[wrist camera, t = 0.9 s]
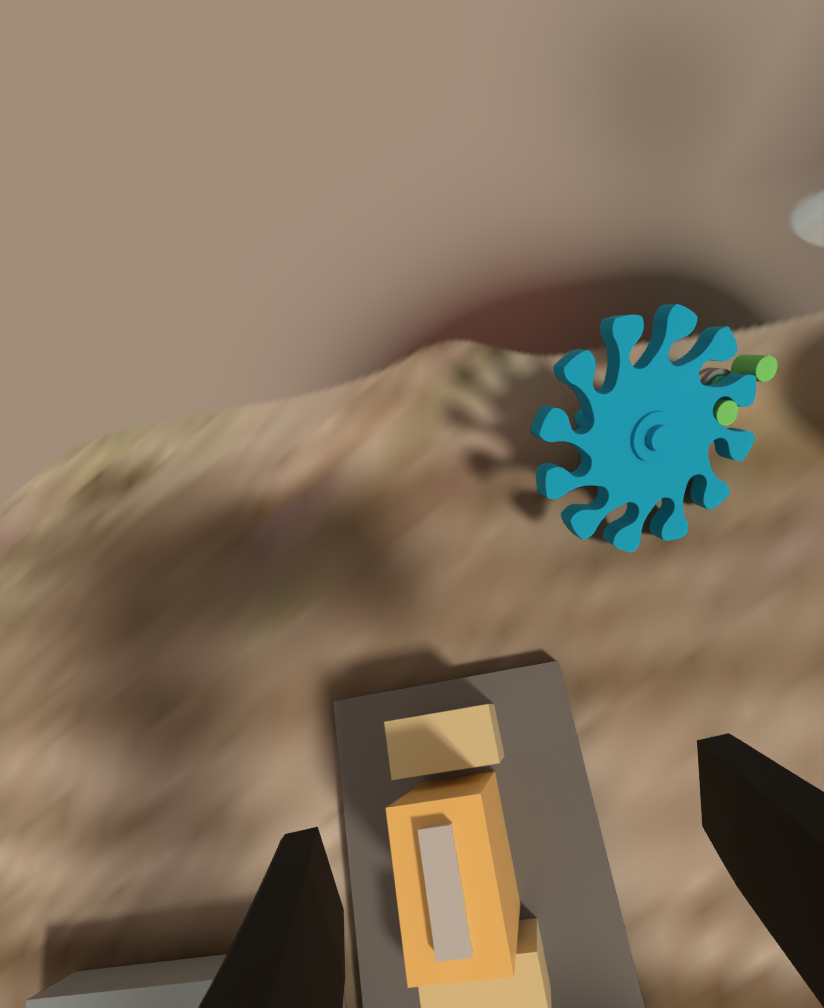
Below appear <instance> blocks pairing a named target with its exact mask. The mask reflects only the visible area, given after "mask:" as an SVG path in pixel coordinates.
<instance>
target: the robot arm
mask: <svg viewBox="0 0 824 1008" xmlns="http://www.w3.org/2000/svg"><path fill="white" fill-rule="evenodd" d="M697 748H698V764H699V780H700V796H701V812H702V826H703V828H704V830H705V832H706V834H707V835H708V837H709V839H710V841H711V842H712V844H713V846H714V848H715V850H716V851H717V853H718V855H719V857H720V858H721V860H722V862H723V864H724V865H725V867H726V869H727V870H728V872H729V874H730V875H731V877H732V879H733V880H734V882H735V884H736V886H737V887H738V888H739V890H740V891H741V893H742V894H743V896H744V897H745V898H746V900H747V901H748V903H749V904H750V906H751V907H752V908H753V910H754V911H755V913H756V914H757V915H758V917H759V918H760V920H761V921H762V922H763V924H764V925H765V927H766V928H767V929H768V931H769V932H770V934H771V935H772V936H773V938H774V939H775V941H776V942H777V943H778V945H779V946H780V948H781V949H782V950H783V952H784V953H785V955H786V956H787V957H788V959H789V960H790V961H791V963H792V964H793V966H794V967H795V968H796V970H797V971H798V973H799V974H800V975H801V977H802V978H803V980H804V981H805V982H806V984H807V985H808V986H809V988H810V989H811V991H812V992H813V993H814V995H815V996H816V998H817V999H818V1000H819V1002H820V1003H821V1005H822V1006H823V1007H824V792H823V791H821V790H820V789H818V788H816V787H815V786H813V785H812V784H810V783H808V782H807V781H805V780H803V779H802V778H800V777H799V776H797V775H795V774H794V773H792V772H790V771H789V770H787V769H786V768H784V767H782V766H781V765H779V764H778V763H776V762H774V761H773V760H771V759H770V758H768V757H766V756H765V755H763V754H762V753H760V752H758V751H757V750H755V749H754V748H752V747H750V746H749V745H747V744H746V743H744V742H742V741H741V740H739V739H737V738H736V737H734V736H732V735H731V734H729V733H728V734H723V735H719V736H714V737H710V738H706V739H701V740H697ZM344 982H345V951H344V909H343V906H342V903H341V900H340V896H339V893H338V890H337V887H336V884H335V880H334V877H333V874H332V871H331V868H330V865H329V861H328V858H327V855H326V852H325V849H324V845H323V842H322V839H321V836H320V833H319V830H318V827H314V828H310V829H306V830H301V831H297V832H292V833H288V834H285V835H284V836H283V838H282V839H281V841H280V843H279V845H278V848H277V850H276V852H275V854H274V857H273V859H272V861H271V863H270V866H269V868H268V870H267V872H266V874H265V877H264V879H263V881H262V883H261V885H260V887H259V890H258V892H257V894H256V896H255V898H254V900H253V902H252V904H251V906H250V908H249V911H248V913H247V915H246V917H245V919H244V921H243V923H242V925H241V927H240V929H239V931H238V933H237V935H236V937H235V939H234V941H233V943H232V945H231V947H230V949H229V951H228V953H227V955H226V957H225V959H224V961H223V963H222V964H221V966H220V968H219V970H218V972H217V974H216V976H215V978H214V980H213V981H212V983H211V985H210V987H209V989H208V990H207V992H206V994H205V996H204V998H203V999H202V1001H201V1003H200V1005H199V1007H198V1008H343V997H344Z"/></svg>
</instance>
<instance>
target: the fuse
mask: <svg viewBox="0 0 824 1008" xmlns="http://www.w3.org/2000/svg"><path fill="white" fill-rule="evenodd" d="M386 815H387V823H388V831H389V839H390V847H391V855H392V863H393V871H394V880H395V888H396V896H397V904H398V912H399V920H400V928H401V936H402V945H403V953H404V961H405V969H406V977H407V985H408V988H411V987H421V986H431V985H441V984H451V983H461V982H471V981H481V980H491V979H501V978H511V977H514V971H515V960H516V949H517V937H518V926H519V915H520V899H519V893H518V888H517V883H516V878H515V873H514V867H513V862H512V857H511V852H510V847H509V842H508V836H507V831H506V826H505V821H504V816H503V810H502V805H501V800H500V795H499V790H498V784H497V779H496V774H495V771H494V772H487V773H481V774H474V775H468V776H461V777H455V778H448V779H442V780H435V781H429V782H423V783H421V784H420V785H418V786H417V787H415V788H414V789H413V790H411V791H410V792H408V793H407V794H405V795H404V796H402V797H401V798H399V799H398V800H396V801H395V802H393V803H392V804H391V805H389V806H388V807H386Z"/></svg>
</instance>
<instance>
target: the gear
mask: <svg viewBox="0 0 824 1008" xmlns="http://www.w3.org/2000/svg"><path fill="white" fill-rule="evenodd" d="M696 322H697V316H696V315H695V314H694V313H693V312H692V311H691V310H689V309H688V308H686V307H683V306H681V305H678V304H669V305H662V306H661V307H660V308H659V309H658V310H657V312H656V314H655V317H654V324H653V332H652V336H651V339H650V342H649V344H648V346H647V348H646V350H645V352H644V353H643V355H642V356H641V357H640V358H639V360H638V361H637V362H636V363H635V365H633V366H632V365H631V363H630V360H629V355H630V351H631V349H632V347H633V346H634V345H635V343H636V342H637V341H638V339H639V338H640V336H641V334H642V332H643V326H644V323H643V319H642V316H638V315H622V316H621V315H620V316H613V317H609V318H605V319H603V320H602V323H601V328H600V333H601V336H602V339H603V340H604V342H605V346H606V349H607V355H608V365H607V372H606V376H605V381H604V384H603V386H602V387H601V388H600V389H599V390H598V391H595V389H594V387H593V377H594V373H595V367H596V362H595V358H594V356H593V354H592V353H591V352H590V351H588V350H577V349H576V350H573V351H571V352H569V353H568V354H566V355H565V356H564V357H562V358H561V359H560V360H559V361H558V362H557V363H556V364H555V365H554V373H555V376H556V377H557V379H559V380H560V381H561V382H563V383H565V384H567V385H568V386H569V387H570V388H571V389H572V390H573V391H574V392H575V394H576V395H577V397H578V399H579V402H580V404H581V408H580V409H579V410H578V411H577V412H576V414H575V417H574V421H575V424H576V425H577V426H578V427H579V428H578V429H576V430H574V431H573V430H572V428H571V425H570V422H569V418H568V416H567V414H566V413H565V412H564V411H563V410H561V409H559V408H555V407H551V406H547V405H544V406H542V407H541V408H540V409H539V411H538V412H537V414H536V416H535V418H534V421H533V423H532V426H531V429H530V432H531V433H532V435H534V436H535V437H537V438H540V439H542V440H545V441H547V442H557V441H566V442H568V443H570V444H571V445H572V446H574V447H575V448H576V449H577V450H578V451H579V452H580V454H581V463H580V465H579V467H578V468H577V469H576V470H575V471H573V472H568V471H567V470H565V469H564V468H562V467H559V466H557V465H555V464H553V463H543V464H541V465H539V466H538V468H537V473H536V482H537V489H538V492H539V493H540V494H542V495H544V496H545V497H547V498H550V499H558V498H560V497H562V496H563V495H565V494H566V493H567V492H569V491H571V490H573V489H575V488H578V487H581V486H586V485H595V486H597V488H598V493H597V496H596V498H595V500H594V501H593V502H591V503H589V504H572V505H569V506H567V507H566V508H565V509H564V510H563V511H562V513H561V517H562V520H563V522H564V524H565V525H566V527H567V528H568V529H569V530H570V531H571V532H572V533H573V534H574V535H576V536H577V537H579V538H580V539H582V540H583V539H587V538H589V537H590V536H591V535H593V533H594V532H595V530H596V529H597V527H598V525H599V523H600V522H601V521H602V519H603V518H604V517H605V516H606V515H607V514H608V513H610V512H611V511H612V510H614V509H615V508H617V507H619V506H621V505H623V504H625V503H627V511H626V513H625V514H624V515H623V516H622V517H621V518H619V519H617V520H615V521H613V522H611V523H610V524H609V525H607V527H606V528H605V530H604V532H603V537H602V538H603V539H605V540H606V541H607V542H609V543H611V544H612V545H614V546H615V547H617V548H619V549H621V550H624V551H628V552H632V553H633V552H634V551H635V550H636V549H637V547H638V546H639V544H640V540H641V530H642V526H643V523H644V521H645V519H646V517H647V515H648V514H649V512H650V511H651V509H652V508H653V507H654V506H655V504H656V503H657V502H658V501H659V500H660V499H662V505H661V507H660V509H659V510H658V511H657V513H656V514H655V515H654V516H653V518H652V520H651V522H650V532H651V534H653V535H655V536H657V537H659V538H661V539H663V540H674V539H678V538H681V537H684V536H685V535H686V533H687V531H688V522H687V520H686V518H685V516H684V512H683V498H684V493H685V489H686V485H687V483H688V481H689V479H690V478H691V477H693V483H692V487H691V491H690V497H691V500H692V502H693V503H695V504H696V505H699V506H701V507H704V508H706V509H709V510H710V509H712V508H714V507H716V506H717V505H719V504H720V503H721V502H722V501H724V500H725V499H726V498H727V497H728V496H729V492H730V491H729V487H728V485H727V484H726V483H724V482H722V481H721V480H719V479H718V478H717V477H716V476H715V475H714V473H713V471H712V469H711V467H710V463H709V458H708V448H709V446H710V444H711V443H712V441H714V444H715V449H716V452H717V454H718V455H719V456H721V457H725V458H728V459H732V460H736V461H742V460H743V459H744V458H745V457H746V455H747V454H748V452H749V450H750V449H751V447H752V444H753V442H754V440H755V436H754V434H753V433H752V432H750V431H746V430H741V429H736V428H724V427H723V426H722V425H724V426H725V425H729V424H731V423H732V422H733V421H734V420H735V419H736V417H737V415H738V406H740V407H747V406H749V405H751V404H753V401H754V398H755V393H756V381H760V382H766V381H769V380H771V379H772V378H773V377H774V375H775V373H776V371H777V361H776V359H775V358H774V357H772V356H763V355H740V356H738V357H737V358H736V359H735V360H734V361H733V363H732V366H731V372H730V371H729V370H727V369H722V368H706V369H703V370H701V371H700V369H701V367H702V365H703V364H704V363H705V362H707V361H709V360H712V361H727V360H729V359H731V358H732V357H733V356H734V355H735V354H736V352H737V343H736V340H735V338H734V336H733V333H732V332H731V330H730V329H729V327H710V328H707V329H705V330H704V331H703V332H702V333H701V335H700V336H699V338H698V340H697V342H696V343H695V345H694V346H693V348H692V349H691V350H690V351H689V352H688V353H687V354H686V355H684V356H683V357H682V358H680V359H678V360H677V361H675V362H672V363H671V362H670V360H669V350H670V347H671V346H672V344H673V343H674V342H675V341H677V340H679V339H681V338H683V337H685V336H687V335H689V333H691V332H692V330H693V329H694V327H695V325H696Z"/></svg>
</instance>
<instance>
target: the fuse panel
mask: <svg viewBox="0 0 824 1008" xmlns="http://www.w3.org/2000/svg"><path fill="white" fill-rule="evenodd" d="M333 706H334V716H335V726H336V737H337V747H338V757H339V767H340V777H341V788H342V798H343V808H344V818H345V829H346V839H347V849H348V859H349V870H350V880H351V890H352V900H353V910H354V921H355V931H356V941H357V951H358V962H359V972H360V982H361V992H362V1002H363V1008H645V1007H644V1003H643V999H642V995H641V991H640V987H639V983H638V979H637V975H636V971H635V967H634V963H633V959H632V955H631V951H630V946H629V942H628V938H627V934H626V930H625V926H624V922H623V918H622V914H621V910H620V906H619V902H618V898H617V894H616V890H615V886H614V882H613V878H612V874H611V870H610V866H609V862H608V858H607V854H606V850H605V846H604V842H603V838H602V834H601V830H600V826H599V822H598V818H597V814H596V810H595V806H594V802H593V798H592V794H591V790H590V786H589V782H588V778H587V774H586V770H585V765H584V761H583V757H582V753H581V749H580V745H579V741H578V737H577V733H576V729H575V725H574V721H573V717H572V713H571V709H570V705H569V701H568V697H567V693H566V689H565V685H564V681H563V677H562V673H561V669H560V665H559V661H553V662H548V663H542V664H537V665H531V666H526V667H520V668H514V669H509V670H503V671H498V672H492V673H487V674H481V675H476V676H470V677H464V678H459V679H453V680H448V681H442V682H437V683H431V684H426V685H420V686H414V687H409V688H403V689H398V690H392V691H387V692H381V693H376V694H370V695H364V696H359V697H353V698H348V699H342V700H337V701H333ZM494 771H495V774H496V779H497V784H498V790H499V795H500V800H501V805H502V810H503V816H504V821H505V826H506V831H507V836H508V842H509V847H510V852H511V857H512V862H513V867H514V873H515V878H516V883H517V888H518V893H519V899H520V915H519V926H518V937H517V949H516V960H515V971H514V977H511V978H501V979H491V980H481V981H471V982H461V983H451V984H441V985H431V986H421V987H411V988H408V985H407V977H406V969H405V961H404V953H403V945H402V936H401V928H400V920H399V912H398V904H397V896H396V888H395V880H394V871H393V863H392V855H391V847H390V839H389V831H388V823H387V815H386V807H388V806H389V805H391V804H392V803H393V802H395V801H396V800H398V799H399V798H401V797H402V796H404V795H405V794H407V793H408V792H410V791H411V790H413V789H414V788H415V787H417V786H418V785H420V784H421V783H423V782H429V781H435V780H442V779H448V778H455V777H461V776H468V775H474V774H481V773H487V772H494Z"/></svg>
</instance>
